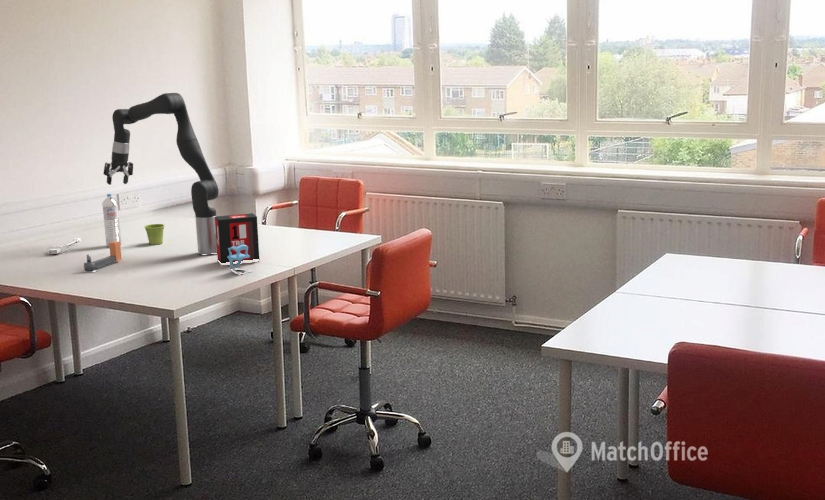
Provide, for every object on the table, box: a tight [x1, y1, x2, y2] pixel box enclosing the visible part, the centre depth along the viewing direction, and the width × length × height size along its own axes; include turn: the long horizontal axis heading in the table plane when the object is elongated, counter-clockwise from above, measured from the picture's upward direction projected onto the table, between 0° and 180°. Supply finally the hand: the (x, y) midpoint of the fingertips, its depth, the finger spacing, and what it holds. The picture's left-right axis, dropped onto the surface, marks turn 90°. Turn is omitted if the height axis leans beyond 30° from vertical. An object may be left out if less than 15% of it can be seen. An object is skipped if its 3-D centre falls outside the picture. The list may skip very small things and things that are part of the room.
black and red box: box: [215, 212, 260, 263], centre depth 387 cm, size 16×9×20 cm, turn 111°
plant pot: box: [143, 223, 166, 246], centre depth 427 cm, size 9×9×9 cm
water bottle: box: [101, 193, 122, 248], centre depth 422 cm, size 7×7×25 cm
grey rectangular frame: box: [95, 265, 109, 270], centre depth 385 cm, size 6×4×1 cm
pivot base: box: [82, 254, 99, 274], centre depth 377 cm, size 6×6×7 cm
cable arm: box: [83, 241, 122, 271], centre depth 384 cm, size 20×4×8 cm, turn 158°
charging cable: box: [47, 237, 82, 255], centre depth 423 cm, size 5×32×3 cm, turn 179°
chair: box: [227, 244, 250, 270], centre depth 370 cm, size 8×8×12 cm
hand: (117, 183), depth 427 cm, fingers open, 8 cm apart
